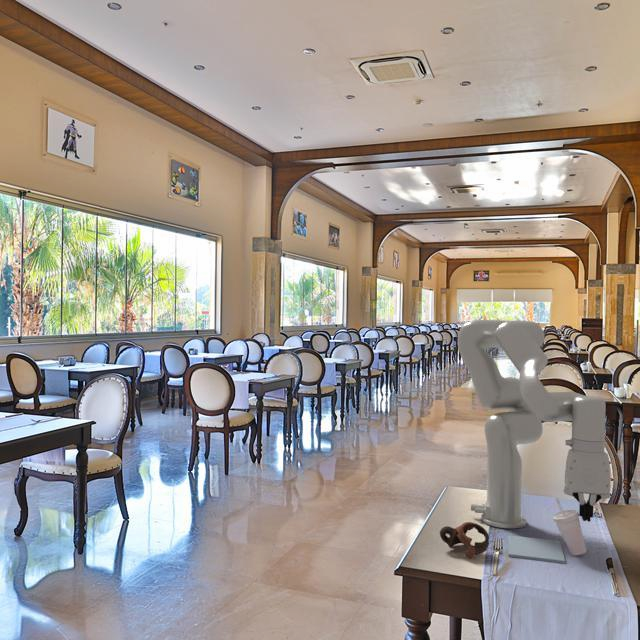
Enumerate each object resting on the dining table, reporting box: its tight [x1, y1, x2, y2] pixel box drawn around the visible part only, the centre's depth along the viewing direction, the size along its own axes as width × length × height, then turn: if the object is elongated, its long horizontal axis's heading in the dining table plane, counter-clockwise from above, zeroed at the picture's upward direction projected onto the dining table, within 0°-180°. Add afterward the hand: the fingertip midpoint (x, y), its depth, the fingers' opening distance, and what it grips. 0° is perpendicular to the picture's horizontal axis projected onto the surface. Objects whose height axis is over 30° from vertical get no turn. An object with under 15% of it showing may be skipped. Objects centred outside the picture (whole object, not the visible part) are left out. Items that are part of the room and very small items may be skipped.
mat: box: [507, 534, 566, 564], centre depth 154 cm, size 13×14×1 cm
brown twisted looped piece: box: [439, 521, 490, 560], centre depth 152 cm, size 12×10×8 cm
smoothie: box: [552, 497, 587, 556], centre depth 152 cm, size 6×6×14 cm
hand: (585, 519), depth 151 cm, fingers closed
